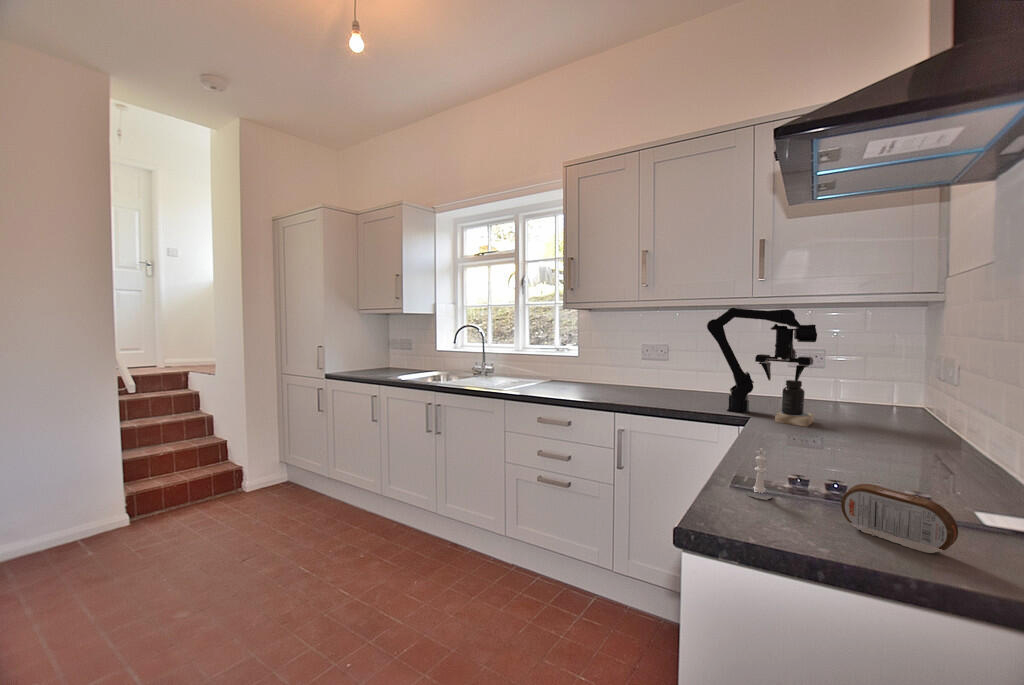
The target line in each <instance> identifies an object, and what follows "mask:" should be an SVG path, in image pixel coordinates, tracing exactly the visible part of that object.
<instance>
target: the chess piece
mask: <svg viewBox="0 0 1024 685" xmlns="http://www.w3.org/2000/svg"><path fill="white" fill-rule="evenodd" d="M756 454H758V455H757V456H755V461H756V465H757V466H756V467H755V468H754V470H755V471H757V474H756V480H755V484H754V486H753V487H752V488H754V492H759V493H760V492H761V493H763V492H765V490H767V488H766V487H765V482H764V472H767V469H766V468H764V467H765V464H766V462H767V458H766V457H764V456H763V455H766V454H767V452H766V451H763V448H760V449H759V450H756Z"/></svg>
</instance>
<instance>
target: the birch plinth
mask: <svg viewBox="0 0 1024 685" xmlns="http://www.w3.org/2000/svg"><path fill="white" fill-rule="evenodd" d="M814 416H815V414H814V413H809V412H804V413H803V415H791V414H785V413H783V412H782V410H780V411H778V412H776V413H775V414H774V423H781V424H787V425H793V426H800V427H808V426H810V425H812V424H813V423H814V419H815V418H814Z"/></svg>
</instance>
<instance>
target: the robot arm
mask: <svg viewBox="0 0 1024 685" xmlns="http://www.w3.org/2000/svg"><path fill="white" fill-rule="evenodd" d="M734 318H736V319H738V318H739V319H751V320H763V321H768V322H771V323H774V325H773V326H772V327H770V330H772V331H775V344H774V347H775V349H774V356H771V354H761V353H759V354H756V355H755V358H754V360H755V363H757V362H758V365H761V367H762V368H763V371H764V372H765V375H766V378H767V380H768V381H771V376H772V374H771V364H772V362H781V363H794V364H795V363H797V364H796V366H795V376H794V380H797V381H799V379H800V377H801V374H802V372H803V371H804V369H805V368H807V367H809V366H812V365H814V359H813V357H812V356H798V357H796V354H797V352H796V350H795V349H794V340H797V343H816V342H817V340H818V333H817V328H816V324H801V323H800V322H799V321H798V320H797V319H796V315H795V313H794V311H793V310H791V309H775V310H774V309H773V310H764V309H763V310H760V309H749V308H748V309H745V308H736V307H730V308H729V309H728V310H726V312H724V313H723V314H721V315H719V317H717V318H714V319H710V320H709V321H708V322H707V323H706V329H707V330H708V332H709V334H711V336H712V337H713V339H714V340H715V341H716V342H717V344H718V346H719V348H720V351H721V353H722V354H723V356H724V358H725V360H726V362H727V365H728V366H729V368H730V370H731V372H732V377H733V380H734V383H735V385H733V386H732V387H731V388H729V391H730V394H729V395H728V408H727V409H726V412H733V413H739V412H740V414H745V413H747V412H749V411H750V400H749V397H748V395H749V394H751V393H752V392H753V390H754V383H755V382H754V380H752V378H751V374H750V373H749V371H746V372H744V370H743V369H742V367H741V365H740V363H739V361H738V359H737V358H736V355H735V353H734V351H733V349H732V347H731V345H730V343H729V341H728V339H727V336H726V331H725V328H724V326H725V325H727V324H728V323H729V322H731V321H732V320H733V319H734ZM778 324H781V325H778ZM788 326H789V327H791V328H788ZM792 327H793V328H792Z"/></svg>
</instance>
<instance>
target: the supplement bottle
mask: <svg viewBox="0 0 1024 685" xmlns="http://www.w3.org/2000/svg"><path fill="white" fill-rule="evenodd" d="M802 384H803V382H802V380H798V381H797V380H795V379H787V380H786V381H785V387H783V389H782V397H781V411H782V412H783V413H785V414H791V415H803V413H805V412H804V411H805V410H804V409H805V393H806V392H805V390H804V389H803V388H802V387H803V385H802Z"/></svg>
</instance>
